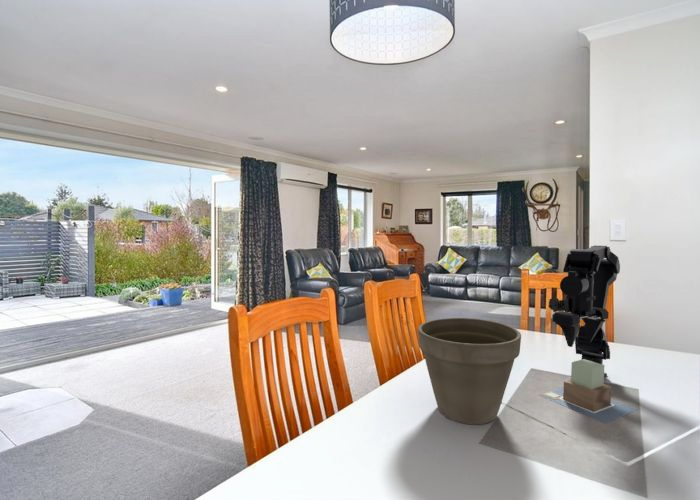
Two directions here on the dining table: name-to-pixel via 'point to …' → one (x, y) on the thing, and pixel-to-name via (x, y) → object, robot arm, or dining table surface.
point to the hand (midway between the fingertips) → (579, 344)
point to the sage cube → (587, 374)
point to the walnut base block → (587, 395)
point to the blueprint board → (601, 414)
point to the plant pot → (469, 365)
